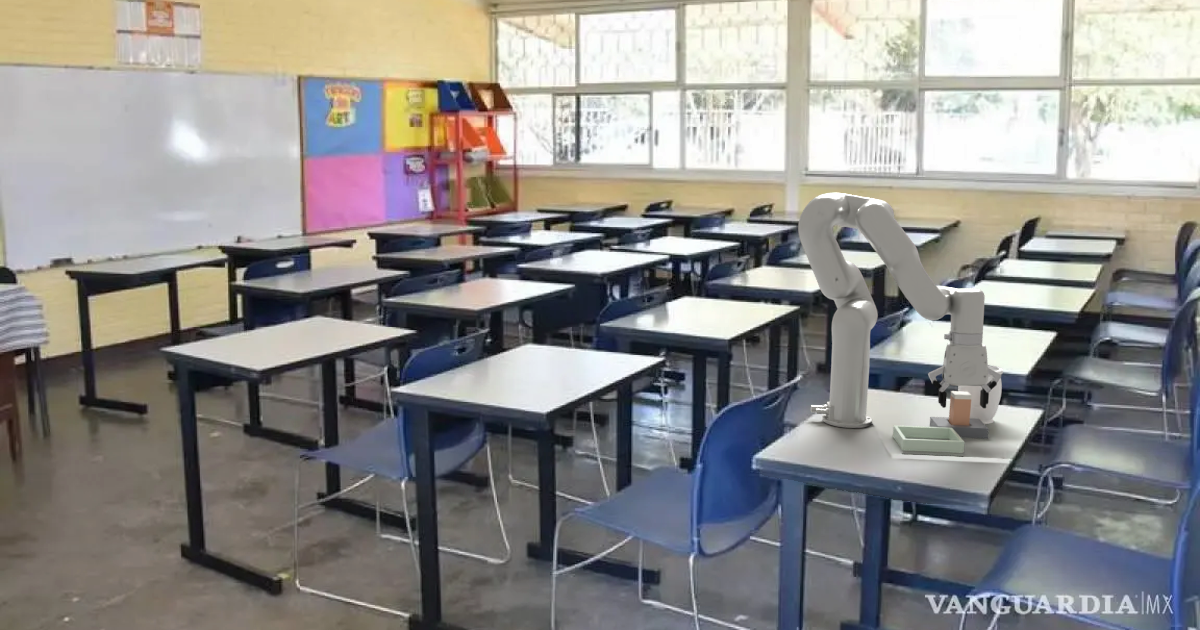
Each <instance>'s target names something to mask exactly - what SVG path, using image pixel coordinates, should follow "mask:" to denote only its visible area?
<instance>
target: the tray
mask: <svg viewBox="0 0 1200 630" xmlns="http://www.w3.org/2000/svg"><path fill="white" fill-rule="evenodd" d="M892 436H893V439H894V440H895V441H896V443H897V444H898V446H899V447H900V449H901V451H910V452H911V451H912V452H933V453H937V452H938V453H954V454H956V453H957V454H958V453H960V454H964V452H965V441H964V439H963V438H962V437H960V436H959V435H958V434H957V433H956V432H955V431H954V429H953V428H947V427H930V426H918V425H917V426H916V425H893V427H892ZM901 454H902V455H906V452H905V453H904V452H903V453H901ZM909 455H914V456H930V454H926V453H924V454H922V453H908V456H909ZM932 456H934V457H935V456H938V457H954V455H951V454H950V455H949V454H946V455H945V454H932ZM956 457H959V458H960V457H962V458H963V457H964V455H956Z"/></svg>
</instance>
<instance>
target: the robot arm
mask: <svg viewBox="0 0 1200 630" xmlns="http://www.w3.org/2000/svg"><path fill="white" fill-rule="evenodd" d="M834 226H839V227H846V228H851V229H857V230H859V231H860V232H861V234H862V235H863V236H864V238H865V239H866V240H867V242H868V243H869V244H870V246H871V247H872V248H873V250H874V252H876V254H877V255H878V256H879V258H880V259H881V261H882V262H883V263H884V264H885V266H886V268H887V270H888V272H889V274H890V275H891V276H892V278H893V279H894V281H895V283H896V285H897V286H898V287H899V290H900V291H901V292H902V294H903V296H904V297H905V298H906V299H907V300H908V302H909V303H910V304H911V306H912V307H913V309H914V310H915V311H916V313H918V314H919V316H920V317H922V318H924V320H928V321H937V320H939V319H942V318H943V317H944V316H946V315H950V330H949V333H944V335H943V339H944V340H946V341H949V342H948V343H947V344H946V347H945V351H944V354H943V363H942V366H940V367H937V368H936V369H934V370H932V371H930V372H928V373H927V375H928V378H929V379H930V381H931V384H932V385H934V387H935V388H936V389H937V390H938V399H937V402H938V404H939V405H940V406H941V407H942V408H944V409H945V408H947V396H948V395H947V391H946V390H947V389H948V387H949V386H957V387H958V386H981V387H982V390H981V391H980V406H981V407H983V408H986V404H988V400H989V392H990V391H991V390H992V389H993V388H994V387H995V386H996V385H997V382H998V381H999V379H1000V378H1001V379H1002V374H1001V375H1000V374H999V373H997V372H995V371H993V370H991V369H990V368H988V365H989V364H988V363H989V362H988V352H987V346H986V344H983V339H984V336H983V335H984V318H985V317H984V316H985V299H986V298H985V297H986V296H985V292H984V291H983V290H981V289H978V288H972V287H971V288H970V287H968V288H967V287H966V288H965V287H962V288H955V287H949V286H944V285H936V284H935V282H934V280H933V279H932V278H931V277H930V275H929V274H928V273H927V271H926V269H925V268H924V265H923V264H922V262H921V258H920V253H919V250H918V248H917V247H916V244H915V243H914V242H913V241H912V239H911V238H910V237H909V235H908V234H907V233H906V232H905V231H904V229H903V227H902V226H901V225H900V224H899V222H898V221H897V219H896V218H895V211H894V209H893V207H892V206H891V205H890V203H888V202H887V201H885V200H883V199H877V198H872V197H871V198H870V197H865V196H859V195H854V194H853V195H852V194H848V193H841V192H836V191H835V192H827V193H822V194H819V195H817V196H815V197H814V198H813V199H811V200H810V201H809V202H808V204H806V205H805V207H804V208H803V210H802V212H801V214H800V216H799V219H798V226H797V227H798V228H797V229H798V230H797V231H798V237H799V240H800V243H801V246H802V249H803V250H804V253H805V255H806V257H807V260H808V264H809V265H810V268H811V270H812V272H813V275H814V277H815V280H816V282H817V284H818V287H819V289H820V291H821V293H822V294H823V296H825V297H826V298H827V299H829V300H833V301H834V304H835V306H836V308H837V309H836V311H835V312H834V313H833V316H832V321H831V343H832V344H831V365H830V367H831V368H830V383H829V384H830V386H829V387H830V388H829V400H828V401H826V404H822V405H817V404H810V412H811V413H814V414H815V413H816V415H821V416H822V419H821V420H822V422H824V423H825V424H827V425H830V426H834V427H839V428H846V429H861V428H862V429H863V428H866V427H870V426H871V425H872V424H873V419H872V417H870V416H869V415H867V412H868V411H867V408H868V407H867V406H868V396H869V395H868V394H869V392H868V391H869V376H870V361H871V360H870V358H871V330H872V329H873V328H875V325H876V323H877V321H878V316H879V315H878V309H877V306H876V304H875V302H874V299H873V297H872V294H871V292H870V290H869V288H868V285H867V283H866V280H865V279H864V276H863V274H862V272H861V270H860V269H859V267H858V266H857V265H856V264H854V263H853V262H851V260H850V261H849V260H846V259H845V257H844V255H843V253H842V250H841V247H840V245H839V243H838V241H837V239H836V237H835V235H834V233H833V228H834ZM941 374H942V375H941ZM988 374H990V375H992V376H993V378H992V380H991V381H990V382H989V383H988V384H987V381H988ZM940 375H941V377H942V380H941V382H939V381H938V380H937V378H936V377H937V376H940Z"/></svg>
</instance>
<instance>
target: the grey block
mask: <svg viewBox="0 0 1200 630" xmlns="http://www.w3.org/2000/svg"><path fill="white" fill-rule="evenodd" d="M929 427H947V428H953V429H954V431H955V432H956V433H957V434H958V435H959V436H960V437H961V438H962V439H963V438H964V439H965V438H967V439H968V438H969V439H989V430H990V428H989V427H988V426H987V424H984V423H983V422H982V421H981V420H980V419H975V418H970V422H969V426H968V425H951V424H950V423H949V416H948V417H945V416H930V417H929Z"/></svg>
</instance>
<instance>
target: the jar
mask: <svg viewBox="0 0 1200 630" xmlns="http://www.w3.org/2000/svg"><path fill="white" fill-rule="evenodd" d="M988 368H990V369H991V370H993V371H995V372H997V373H999V374H1000V375H1001V376H1002V375H1003V373H1004V369H1003V368H1002V367H999V366H997V365H991V364H988ZM992 378H993V376H992V375H990V374H988V381H987V384H988V383H989V382H990V381H991V380H992ZM1002 387H1003V385H1002V377H1001V378H1000V379H999V381H998V382H997V385H996V386H995V387H994V388H993V389H992V390H991V391H990V392H989V400H988V404H986V408H983V407H981V406H980V391H981V390H982V387H981V386H957V391H964V392H968V393H969V394H971V395H972V397H971V410H970V418H975V419H980V420H981V421H982V422H983V423H984V424H985V425H988V424H992V423H994V422H995V421H994V417H995V416H996V414H997V412H998V410H999V403H1000V401H1001V397H1002V389H1003V388H1002Z"/></svg>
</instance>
